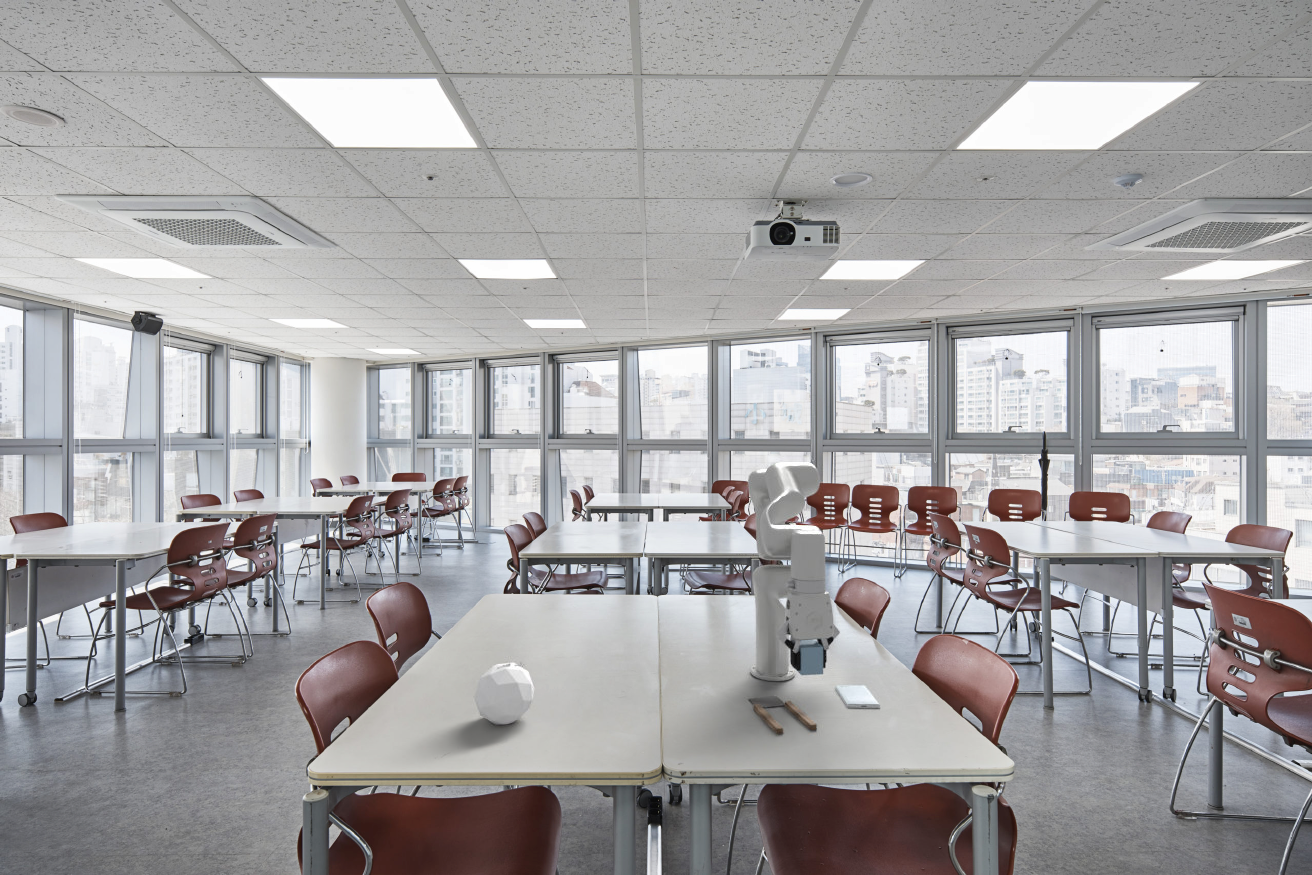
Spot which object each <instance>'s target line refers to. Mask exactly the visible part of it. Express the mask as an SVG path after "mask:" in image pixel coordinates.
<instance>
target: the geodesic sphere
mask: <svg viewBox="0 0 1312 875" xmlns="http://www.w3.org/2000/svg"><path fill="white" fill-rule="evenodd" d="M522 664H523V662H522V661H520V662H519V663H518V664H517V663H515V662H507V663H504V662H503V663H498V664H494V665H493V666H492V667H490V668H488V670H487V671H486V672H485V673H484V674H482V675H481V676H480V677H479V679H478V683H477V685H476V689H475V693H474V696H473V698H474V701H475V705H476V707H477V711H478V713H479V716H481V717H483V718H484V719H485V720H487V721H490V722H491V723H492V724H495V725H508V724H512V723H515V722H516V721H518V720H519V719H520V718H521V717H523V716H524V715H525V714H526V713H527V711H528V710H529V709H530V707H531V705H532V702H533V700H534V694H535V693H534V692H535V687H534V684H533V681H532V678H531V675H530V672H529V670H526V669H525V668H523V667H524V666H525V664H523V665H522Z"/></svg>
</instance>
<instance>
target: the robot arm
mask: <svg viewBox="0 0 1312 875" xmlns="http://www.w3.org/2000/svg"><path fill="white" fill-rule="evenodd" d="M820 484H821V477H820V473H819V471H818V468H817V467H816V465H814V464H812V463H810V462H777V463H773V464H770V466H768V467H767V468H762V469H756V470H753V471H751V473H750V474H749V475H748V479H747V486H748V487H747V488H748V494H749V497H750V500H751V503H752V505H753V508H754V512H755V524H756V525H755V527H756V528H755V532H756V533H755V535H756V536H755V537H756V538H755V540H756V551H757V555H758V557H760V559H762V560H767V561H790V564H764V565H760V566H757V567H756V568H755V569H754V571H753V572H752V576H751V577H752V578H751V579H752V586H753V594H754V604H755V664H754V665H752V666H751V667H750V673H751V675H752V676H753V677H755V678H757V679H760V680H764V681H769V682H784V681H789V680H791V679H793V678H794V677H795V670H796V672H798V671H800V670H801V654H800V652H799V646H800V643H801V640H816V642H818V643H819V644H820V645H821V646H823V669H826V666H827V665H826V663H827V662H828V660H827V651H828V650H829V649H830V645H831V644H832V643H833V642H834V640H835V639H836V638H837V637H838V636H839V635H840V634H841V633H840V632H841V631H840V630H839V629H838V628H837V626H836V625H835V624H834V615H833V614H834V612H833V605H832V600H831V596H830V592H829V591H827V590H826V538H825V535H824V533H823V531H821V529H820V528H819V527H818V526H816V525H805V524H804V525H800V524H799V525H798V524H794V525H793V524H790V525H789V524H786V521H788V520H791V519H793V518H795V517H797V516H798V515H800V514H801V513H802V512H803V511H804V509H805V506H806V498H808V497H810V496H813V495H814V494H816V493H817V492H818V491H819V488H820V486H821V485H820ZM781 599H786V603H785V606H784V604H783V603H782V602H781V601H780V600H781ZM790 665H791V666H790Z"/></svg>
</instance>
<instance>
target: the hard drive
mask: <svg viewBox="0 0 1312 875" xmlns="http://www.w3.org/2000/svg"><path fill="white" fill-rule="evenodd" d="M834 689H835V691H836V692H837V694H838V695H839V697H840V699H841V700H842V701H843V703H844V704H845V706H846V707H847V708H850V709H853V708H855V709H881V704H880V703H879V702H878V700H877V699H876V698H875V697H874V695H873V694H872V693H871V691H870V690H869V688H867V686H866V685H863V684H862V685H855V684H853V685H852V684H851V685H848V684H847V685H845V684H844V685H843V684H842V685H840V684H838V685H835V688H834Z"/></svg>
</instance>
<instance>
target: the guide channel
mask: <svg viewBox="0 0 1312 875" xmlns="http://www.w3.org/2000/svg"><path fill="white" fill-rule="evenodd" d="M747 701H748V702H750V703H751V704H752V705H753V710H754V712H756V714H757V715H758V716H759V717H760V718H761V719H762V720H763V721H764V722H765V723H766V724H767V725H768V726H769V727H770V728H771V729H772V730H773V732H774V733H776V735H782V734H784V728H783V726H781V724H779V723H778V722H777V720H776V719H774V717H773V716H771V714H770V713H769V712H767V710H766V709H771V708H780V707H785V708H786V709H787V710H788V711H789V712H790V713H792V714H793V716H794V717H796V718H797V719H798V720H800V722H802V724H804V726H805V727H807V728H808V729H809V730H810V731H816V730H817V729H818V728H817V726H818V725H817V723H816V722H815V721H814V720H813V719H811V718H810V717H809V716H808V715H807V714H806V713H805V712H804V711H802V710H801V709H800V708H799V707H797V706H796V704H794V703H793V702H792V701H791V700H785V701H783V700H782V699H781V698H780V697H779V696H778V695H771V696H761V697H751V698H748V700H747Z"/></svg>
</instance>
